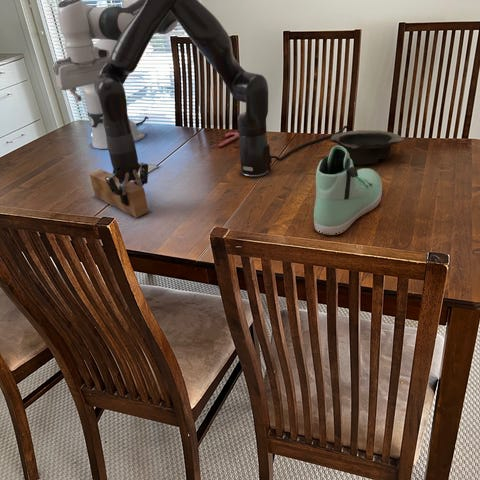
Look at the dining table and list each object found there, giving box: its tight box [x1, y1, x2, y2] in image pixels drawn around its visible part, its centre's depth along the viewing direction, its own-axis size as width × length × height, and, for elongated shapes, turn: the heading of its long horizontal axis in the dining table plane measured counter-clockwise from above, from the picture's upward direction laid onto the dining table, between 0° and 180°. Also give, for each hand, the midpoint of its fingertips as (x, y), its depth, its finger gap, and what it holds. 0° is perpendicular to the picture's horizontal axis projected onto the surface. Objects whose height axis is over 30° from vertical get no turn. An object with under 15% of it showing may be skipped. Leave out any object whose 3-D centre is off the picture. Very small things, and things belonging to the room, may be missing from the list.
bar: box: [89, 169, 149, 218], centre depth 149 cm, size 24×4×8 cm, turn 45°
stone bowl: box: [329, 129, 404, 166], centre depth 169 cm, size 25×25×9 cm
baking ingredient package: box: [130, 164, 158, 183], centre depth 172 cm, size 9×1×15 cm
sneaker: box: [313, 145, 383, 236], centre depth 133 cm, size 14×35×20 cm, turn 152°
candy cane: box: [218, 131, 239, 148], centre depth 194 cm, size 6×15×2 cm, turn 145°
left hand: (91, 97), depth 163 cm, fingers open, 8 cm apart
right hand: (133, 201), depth 145 cm, fingers closed on bar, 4 cm apart
